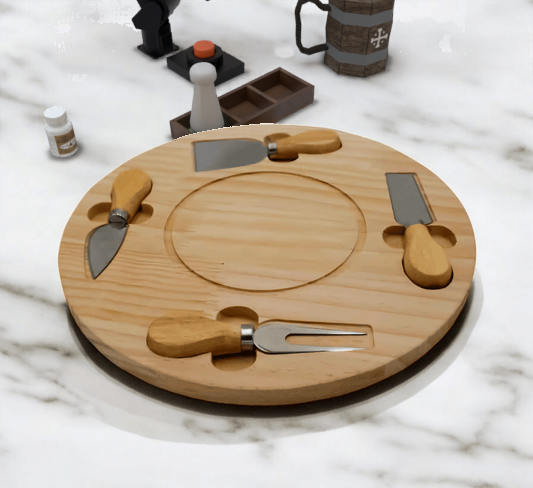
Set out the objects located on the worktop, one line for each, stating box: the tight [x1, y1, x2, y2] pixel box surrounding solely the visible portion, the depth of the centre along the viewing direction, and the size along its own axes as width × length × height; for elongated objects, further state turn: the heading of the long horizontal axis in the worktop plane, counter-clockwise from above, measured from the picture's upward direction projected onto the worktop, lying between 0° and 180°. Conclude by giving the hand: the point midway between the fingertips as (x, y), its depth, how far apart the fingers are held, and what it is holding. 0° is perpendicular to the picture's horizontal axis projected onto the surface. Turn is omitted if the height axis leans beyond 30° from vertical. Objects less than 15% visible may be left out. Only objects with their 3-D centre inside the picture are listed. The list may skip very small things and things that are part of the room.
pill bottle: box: [43, 105, 79, 158], centre depth 108 cm, size 4×4×8 cm
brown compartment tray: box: [169, 66, 316, 140], centre depth 116 cm, size 9×26×4 cm, turn 133°
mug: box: [294, 0, 396, 79], centre depth 126 cm, size 20×14×15 cm
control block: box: [165, 43, 245, 87], centre depth 127 cm, size 12×10×4 cm
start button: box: [192, 39, 215, 58], centre depth 126 cm, size 4×4×2 cm
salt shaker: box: [190, 62, 224, 133], centre depth 108 cm, size 6×6×13 cm
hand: (207, 0), depth 124 cm, fingers closed
